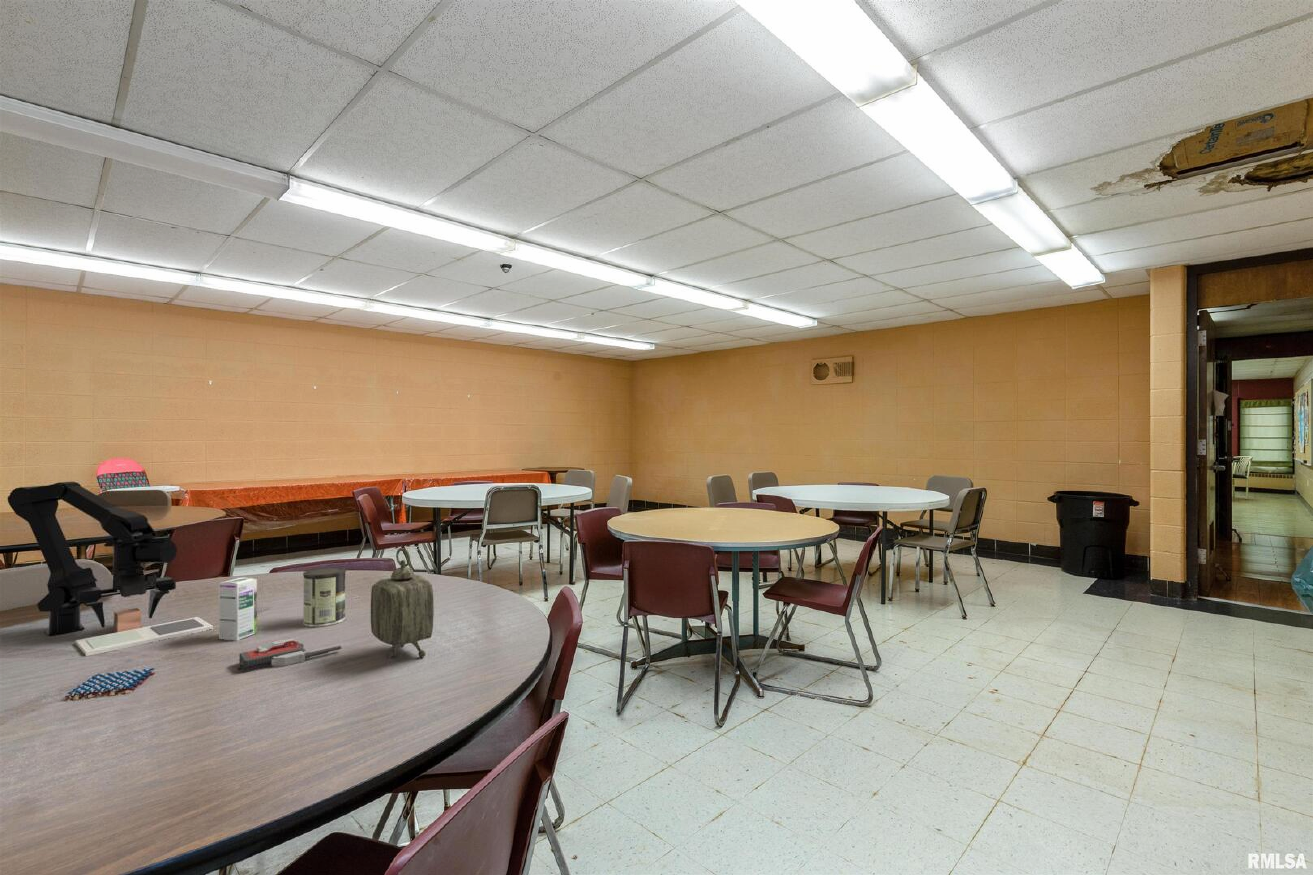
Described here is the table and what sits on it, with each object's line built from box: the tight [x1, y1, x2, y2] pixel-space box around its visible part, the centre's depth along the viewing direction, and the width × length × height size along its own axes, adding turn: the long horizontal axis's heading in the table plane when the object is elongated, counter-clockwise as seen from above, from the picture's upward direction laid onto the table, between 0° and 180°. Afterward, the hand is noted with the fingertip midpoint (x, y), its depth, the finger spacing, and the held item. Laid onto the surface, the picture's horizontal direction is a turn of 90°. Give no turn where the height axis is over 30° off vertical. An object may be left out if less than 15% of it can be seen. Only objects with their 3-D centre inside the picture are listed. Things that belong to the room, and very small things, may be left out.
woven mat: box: [65, 667, 156, 702], centre depth 116 cm, size 10×11×2 cm
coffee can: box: [302, 566, 347, 628], centre depth 158 cm, size 10×10×14 cm
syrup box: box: [218, 576, 258, 642], centre depth 145 cm, size 6×6×14 cm
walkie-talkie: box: [237, 638, 343, 673], centre depth 131 cm, size 9×4×20 cm
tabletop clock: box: [370, 547, 435, 658], centre depth 134 cm, size 14×9×25 cm, turn 47°
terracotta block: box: [113, 607, 142, 633], centre depth 149 cm, size 4×4×5 cm
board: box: [75, 616, 214, 657], centre depth 145 cm, size 13×24×1 cm, turn 143°
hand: (127, 622), depth 149 cm, fingers open, 9 cm apart
